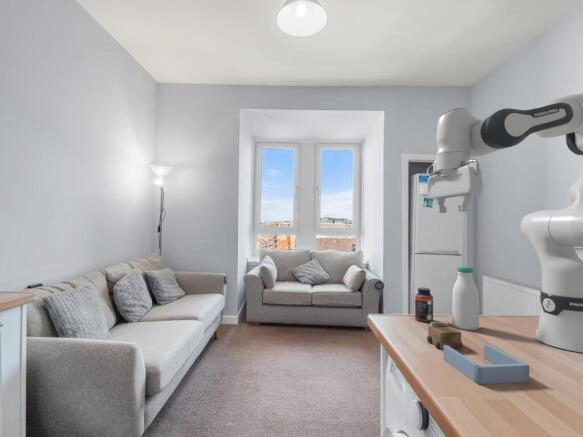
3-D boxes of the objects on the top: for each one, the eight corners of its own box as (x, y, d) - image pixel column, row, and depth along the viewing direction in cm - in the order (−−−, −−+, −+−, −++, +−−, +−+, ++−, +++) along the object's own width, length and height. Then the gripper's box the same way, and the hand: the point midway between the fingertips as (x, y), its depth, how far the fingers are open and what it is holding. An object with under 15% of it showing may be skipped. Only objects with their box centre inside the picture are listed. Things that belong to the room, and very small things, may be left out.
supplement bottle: (435, 323, 105) (435, 290, 105) (416, 322, 106) (416, 289, 106) (430, 318, 111) (430, 287, 111) (413, 317, 112) (413, 286, 112)
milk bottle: (483, 331, 97) (482, 268, 98) (457, 330, 98) (456, 268, 99) (473, 324, 105) (472, 265, 105) (449, 322, 106) (448, 265, 107)
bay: (487, 357, 78) (487, 343, 78) (529, 381, 66) (529, 365, 66) (443, 359, 76) (443, 345, 76) (477, 384, 64) (477, 367, 65)
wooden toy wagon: (449, 340, 89) (449, 321, 89) (462, 348, 83) (462, 328, 83) (426, 341, 89) (426, 322, 89) (438, 349, 83) (438, 329, 83)
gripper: (489, 157, 79) (489, 210, 79) (442, 171, 100) (441, 213, 99) (466, 156, 79) (466, 210, 78) (423, 170, 99) (423, 213, 98)
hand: (452, 212), depth 89 cm, fingers open, 8 cm apart
